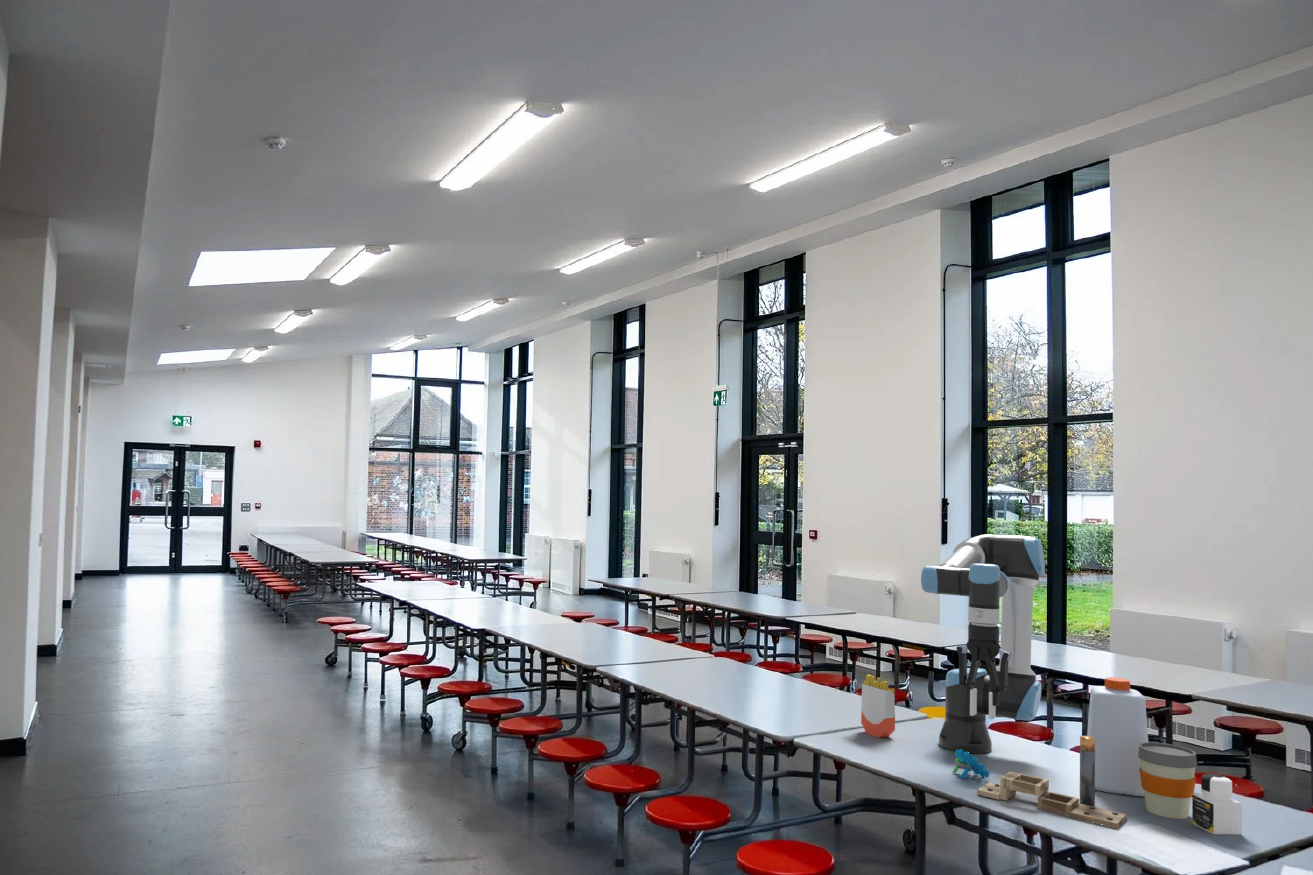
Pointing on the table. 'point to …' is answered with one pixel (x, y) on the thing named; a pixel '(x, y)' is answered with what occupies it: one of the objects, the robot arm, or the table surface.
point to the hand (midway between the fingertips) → (982, 716)
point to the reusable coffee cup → (1167, 778)
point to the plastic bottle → (1117, 736)
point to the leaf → (1014, 786)
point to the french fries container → (877, 707)
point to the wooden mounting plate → (1079, 810)
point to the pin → (1087, 770)
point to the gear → (969, 764)
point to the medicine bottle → (1216, 806)
